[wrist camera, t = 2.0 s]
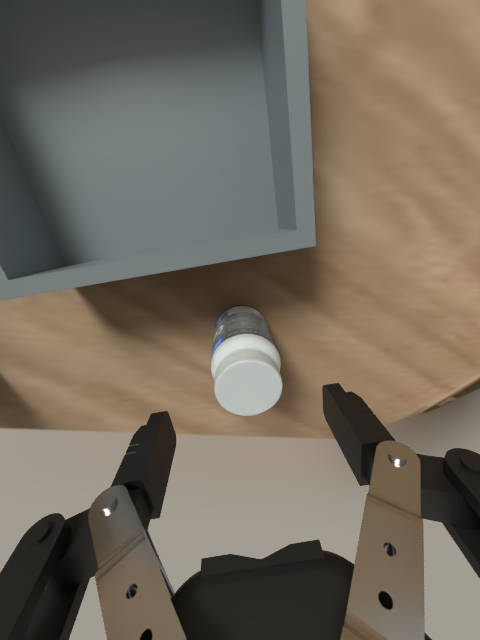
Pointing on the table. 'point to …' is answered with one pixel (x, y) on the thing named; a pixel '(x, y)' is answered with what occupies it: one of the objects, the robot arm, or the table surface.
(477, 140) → the table surface
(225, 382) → the pill bottle
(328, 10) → the table surface
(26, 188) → the tote
